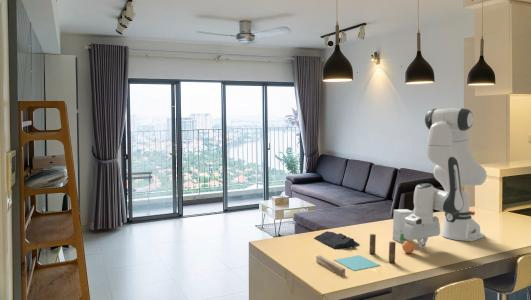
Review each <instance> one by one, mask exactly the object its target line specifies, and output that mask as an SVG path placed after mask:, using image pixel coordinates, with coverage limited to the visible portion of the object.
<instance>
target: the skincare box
mask: <svg viewBox="0 0 531 300" xmlns="http://www.w3.org/2000/svg"><path fill="white" fill-rule="evenodd" d="M412 213H413V210H410V209H408V208H405V209H402V208H401V209H400V208H398V209H393V217H392V240H394V241H395V242H398V243H404V242H405V241H411V242H414V240H407V239H405V238H404V226H405V224H406V223H407V222H405V218H406V217H408V216H409V215H411V214H412Z"/></svg>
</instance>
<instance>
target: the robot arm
mask: <svg viewBox="0 0 531 300" xmlns="http://www.w3.org/2000/svg"><path fill="white" fill-rule="evenodd" d="M424 123H425V126H426V128H427V129H428V131H429V132H428V137H427V142H426V143H427V145H426V155H427V158H428V159H429V160H430V162H432V163H433V164H434V165H435V166H434V168H433V171H432V172H433V176H434V179H435V180H436V181H438V183H440V185H441V186H442V188H443V190H441V189H438V188H436V187H435V186H433V184H432V183H427V182H426V183H424V182H423V183H418V184H416V186H415V189H414V192H413V206H414V207H413V210H412V211H413V213H412V214H411V215H409V216H408V217H406V218H405V222H407V223H406V224H405V226H404V238H405V239H407V240H413V241H414V240H416V242H417V243H418V244H417V246H418V247H419V248H425V247H426V245H427V242H428V240H429V239H428V238H432V237H437V236H440V235H441V236H442V237H444V238H446V239H450V240H455V241H466V242H474V241H477V240H480V239H483V238H484V237H486V234H485V233H482V232H481V226H480V224H479V223H478V222H477V221H476V220H474V219H473V218H472V216H475V214H476V212H475V211H474V210H473V211H472V210H470V205H471V204H470V203H471V201H470V200H471V199H470V195H469V194H468V193H467V192H465V191H464V190H462V187H461V186H462V185H463V186H469V187H470V186H481V185H483V184H484V183H485V182H486V180H487V171H486V169H485V167H483V166H482V165H481V164H479V162H477V161H476V160H475V158H474V156H473V155H472V152H471V146H470V135H469V130H470V129H471V128H472V126H473V123H474V115H473V112H472V111H471V110H470V109H467V108H457V107H448V108H432V109H429V110H427V112H426V114H425V117H424ZM434 210H436V211H441V212H444V216H445V218H444V219H443V224H442V229H441V225H440V219H439V217H438V216H436V215H435V216H434Z"/></svg>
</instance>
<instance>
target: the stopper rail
mask: <svg viewBox="0 0 531 300" xmlns="http://www.w3.org/2000/svg"><path fill="white" fill-rule="evenodd" d="M315 257H316V260H315V261H316V263H318V264H320V265H322V266H323V267H324V268H327V269H329V270H330V271H331V272H334V273H336V274H337V275H339V276H340V277H343V276H346V268H344V267H343V266H341V265H339V264H337V263H336V262H334V261H331V260H330V259H328V258H326V257H324V256H322V255H316V256H315Z"/></svg>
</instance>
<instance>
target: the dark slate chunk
mask: <svg viewBox="0 0 531 300" xmlns="http://www.w3.org/2000/svg"><path fill="white" fill-rule="evenodd" d="M313 239H314V240H315V241H317V242H319V243H321V244H323V245H324V246H327V247H329V248H331V249H333V250H338V251H339V250H343V249H346V250H347V249H351V248H356V247H358V246H360V243H359V242H357V241H355V238H352V237H350V236H347V235H344V234H343V233H336V232H333V231H327V230H326V231H324V232H323V233H320V234H318V235H316V236H314V237H313Z"/></svg>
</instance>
